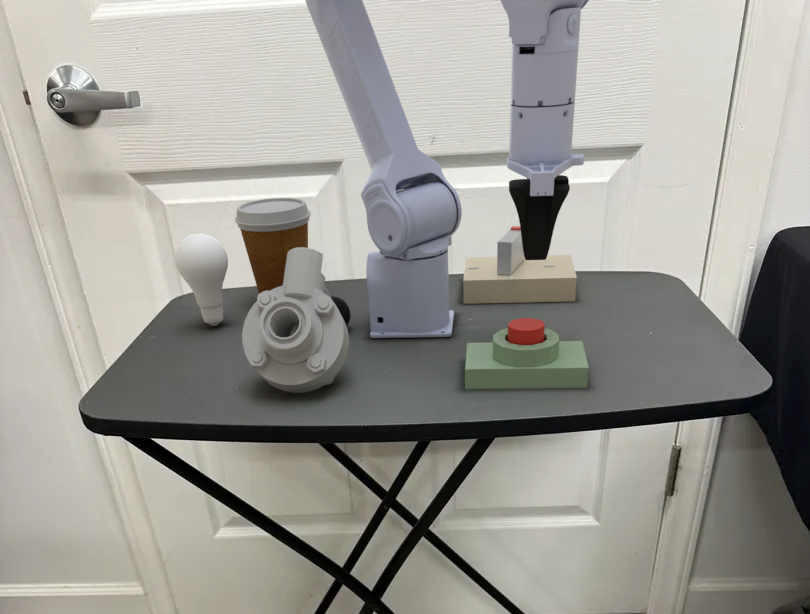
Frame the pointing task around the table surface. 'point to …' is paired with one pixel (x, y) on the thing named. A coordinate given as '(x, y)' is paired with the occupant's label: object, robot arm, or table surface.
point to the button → (526, 331)
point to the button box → (526, 364)
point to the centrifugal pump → (298, 328)
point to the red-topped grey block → (510, 251)
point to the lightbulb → (204, 273)
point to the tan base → (520, 281)
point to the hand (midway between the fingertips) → (535, 258)
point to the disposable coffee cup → (272, 236)
